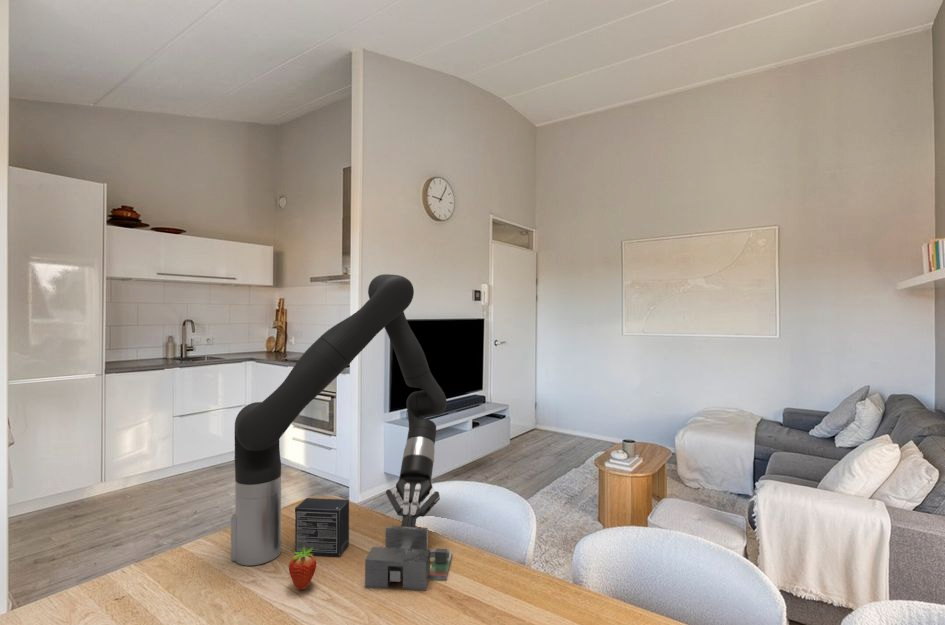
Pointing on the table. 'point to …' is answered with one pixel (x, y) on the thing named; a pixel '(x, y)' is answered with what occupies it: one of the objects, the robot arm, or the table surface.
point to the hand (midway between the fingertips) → (407, 534)
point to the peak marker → (441, 555)
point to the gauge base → (412, 563)
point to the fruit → (302, 568)
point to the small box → (322, 526)
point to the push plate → (406, 544)
